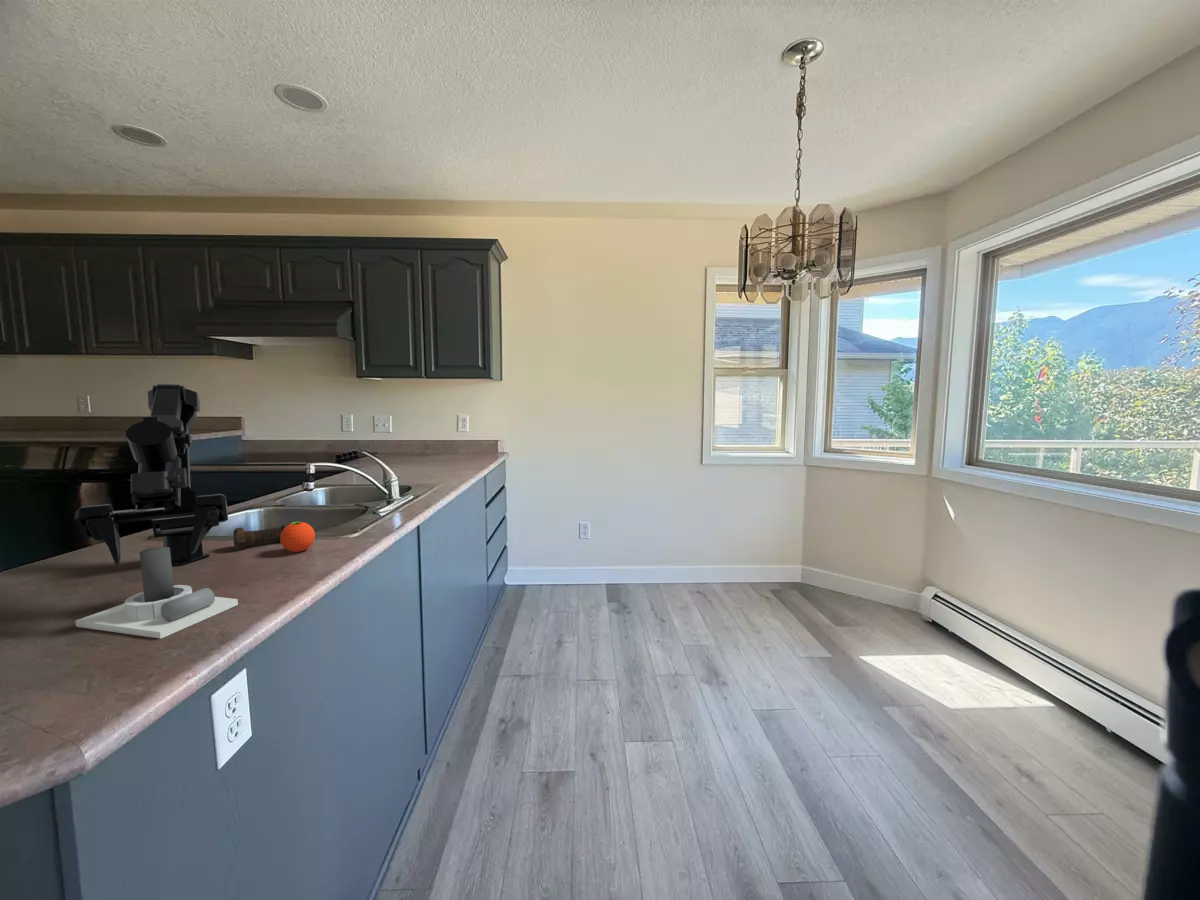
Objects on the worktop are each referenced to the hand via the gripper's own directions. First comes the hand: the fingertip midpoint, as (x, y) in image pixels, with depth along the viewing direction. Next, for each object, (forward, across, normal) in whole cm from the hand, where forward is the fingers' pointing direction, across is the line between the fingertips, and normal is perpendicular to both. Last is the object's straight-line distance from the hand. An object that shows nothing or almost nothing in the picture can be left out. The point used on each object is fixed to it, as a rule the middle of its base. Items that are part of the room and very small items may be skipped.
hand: (156, 557), depth 78 cm
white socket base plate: (+7, 0, +6) cm, 10 cm away
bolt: (-18, +17, +33) cm, 41 cm away
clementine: (-11, +21, +25) cm, 34 cm away
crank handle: (+7, 0, +6) cm, 9 cm away
